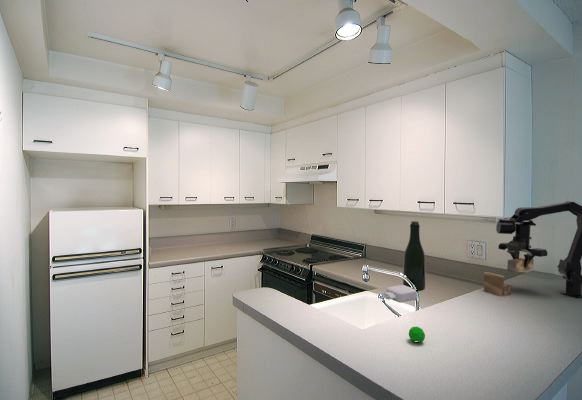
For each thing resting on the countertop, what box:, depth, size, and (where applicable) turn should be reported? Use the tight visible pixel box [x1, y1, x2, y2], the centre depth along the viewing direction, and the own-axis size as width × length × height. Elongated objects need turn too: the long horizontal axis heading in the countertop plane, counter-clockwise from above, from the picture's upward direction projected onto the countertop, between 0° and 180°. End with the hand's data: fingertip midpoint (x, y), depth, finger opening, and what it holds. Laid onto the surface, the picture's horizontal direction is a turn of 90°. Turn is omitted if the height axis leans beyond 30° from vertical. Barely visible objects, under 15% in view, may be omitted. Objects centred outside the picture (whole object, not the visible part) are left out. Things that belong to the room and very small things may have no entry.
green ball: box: [408, 326, 426, 342], centre depth 107 cm, size 5×5×5 cm
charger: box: [380, 284, 417, 303], centre depth 146 cm, size 5×9×15 cm
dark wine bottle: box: [402, 220, 427, 292], centre depth 160 cm, size 10×10×33 cm
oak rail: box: [506, 256, 534, 273], centre depth 154 cm, size 14×4×5 cm, turn 116°
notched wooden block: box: [483, 271, 511, 297], centre depth 153 cm, size 6×9×9 cm
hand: (520, 267), depth 154 cm, fingers closed on oak rail, 3 cm apart
